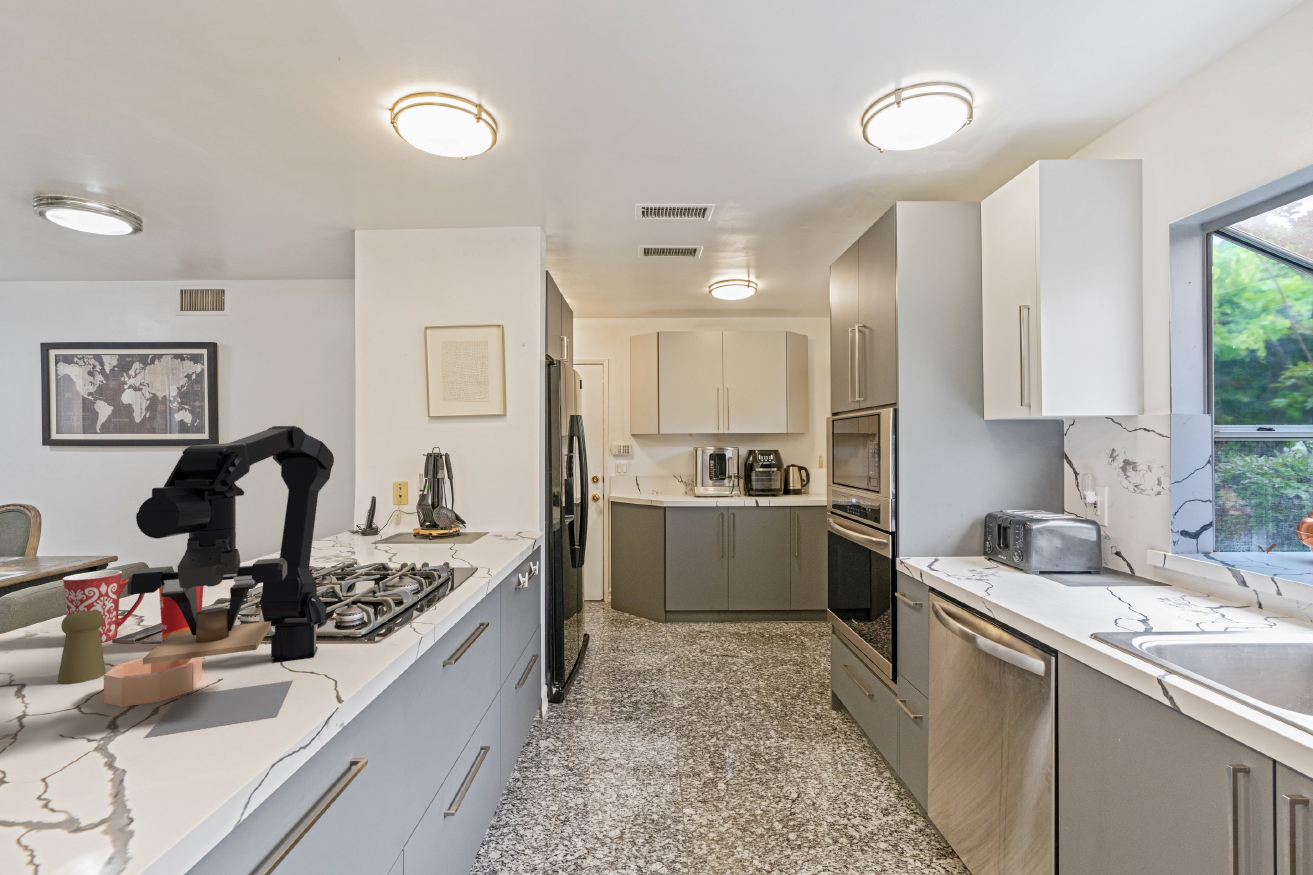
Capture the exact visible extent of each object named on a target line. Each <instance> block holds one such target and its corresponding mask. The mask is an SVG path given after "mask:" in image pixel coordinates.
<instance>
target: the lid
mask: <svg viewBox="0 0 1313 875" xmlns="http://www.w3.org/2000/svg"><path fill="white" fill-rule="evenodd" d="M228 614H229V607H215V608H207V609H202V611H200V612H197V613H196V635H192V633H191V631H190V630H189V631H180V632H172V633H171V634H170V635H169V636H168V637H167V638H166V639H164V640H163V639H162V641H161V642H160V643H159V644H157V646H155V647H154V648H153V649H152V650H151V651H150V652H148V654H146V655H145V656H144V657H142V658H143V664H150V663H158V662H166V661H174V660H181V659H189V658H197V657H202V658H203V657H212V656H220V655H226V654H234V653H241V652H243V653H244V652H250V651H257V650H258V648H259V646H260V644H261V643H262V641H263V640H264V638H265V637H266V636H267V633H268V631H269V630H270V628H271V627H272V626H271V621H269V622H264V621H262V622H261V621H260V622H252V623H244V624H236V625H235V624H234V627H233V629H232V630H231V631H228Z"/></svg>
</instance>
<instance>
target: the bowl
mask: <svg viewBox="0 0 1313 875" xmlns="http://www.w3.org/2000/svg"><path fill="white" fill-rule="evenodd" d="M143 658H144V657H141V658H137V659H134V660H129V661H126V662H124V663H123V662H122V663H119V664H117V665H115V666H114V667H112V668H111V669H110V670H108V671H106V674H105V675H103V703H104V704H107V705H114V706H117V707H121V708H123V707H124V708H125V707H130V706H137V705H145V704H146V705H147V704H152V703H158V702H163V701H166V700H168V699H172V698H174V697H177V696H180V695H181V696H182V695H183V694H186V693H189V692H192V691H194V690H195V688H197V686H198V685H199V684H200V683H201V682H202V681H203V680H202V679H203V678H202V677H203V676H202V675H203V671H202V670H203V657H197V658H189V659H181V660H174V661H166V662H158V663H150V664H143Z"/></svg>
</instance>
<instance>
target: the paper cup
mask: <svg viewBox="0 0 1313 875" xmlns="http://www.w3.org/2000/svg"><path fill="white" fill-rule="evenodd" d="M204 588H205V586H196V591H197V606H198V612H200V611H203V598H204V597H203V596H204ZM158 592H159V605H160V608H159V609H160V623H161V634H162V635H161V636H162V637H161V638H162V641H163V640H164V639H166V638H167V637H168V636H169V635H170V634H171V633H172V632H180V631H189V630H190V629H189V626H188V624H187V622H186V620H185V618H184V615H183V613H182V611H181V610H180V608H179V607H178V605H177V604H176V603H175V602H174V601H173V600H172V599H171V598H170V597H162V596H161V594H162V593H163V585H162V586H161V587H160V588H159V589H158Z"/></svg>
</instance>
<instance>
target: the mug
mask: <svg viewBox="0 0 1313 875" xmlns="http://www.w3.org/2000/svg"><path fill="white" fill-rule="evenodd" d="M122 574H123V571H121V570H117V569H114V570H112V569H110V570H109V569H108V570H98V571H97V570H96V571H90V572H82V573H77V574H72V575H68V576H64V577H63V578H61V580H62V581H63V588H64V589H63V590H64V600H65V601H64V602H65V603H64V604H65V612H66V613H65V614H66V616H68V615H70V614H74V613H77V612H83V611H98V612H100V613H101V614H102V615H103V624H102V626H101V627H100V629H99V633H100V639H101V644H102V643H106V642H110V641H112V640H114V639H116V638H117V637H118V632H119V631H118V629H119V628H120V627H121V626H122V625H123V624H124V623H125V622H126V621H127V620H128V619H129V618H130V617H131V615H133V614H134V612H135V611H136V610H137V609H138V607H139V606H140V604H141V603H142V600H143V599H144V596H145V594H146V593H143V594H138V597H137V599H136V601H135V602H134V604H133V605H132V606H131V608H130V609H129V610H128V611H127V612H126V613H125V614H124V615H123V616H122V617H119V609H120V595H121V594H122V593H123V592H124V589H125V588H126V586H127V583H128V579H129V578H126V579H123V580H121V577H122ZM66 616H65V617H66Z"/></svg>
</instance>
